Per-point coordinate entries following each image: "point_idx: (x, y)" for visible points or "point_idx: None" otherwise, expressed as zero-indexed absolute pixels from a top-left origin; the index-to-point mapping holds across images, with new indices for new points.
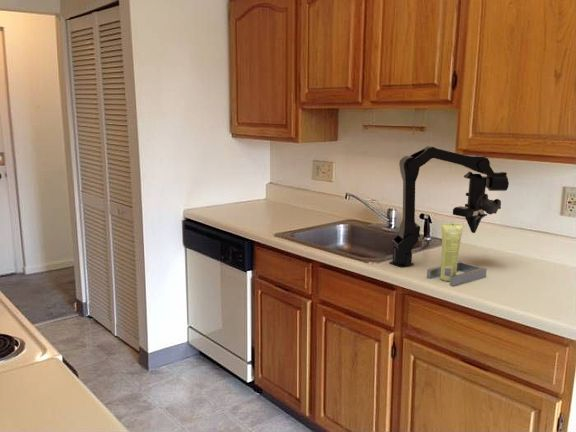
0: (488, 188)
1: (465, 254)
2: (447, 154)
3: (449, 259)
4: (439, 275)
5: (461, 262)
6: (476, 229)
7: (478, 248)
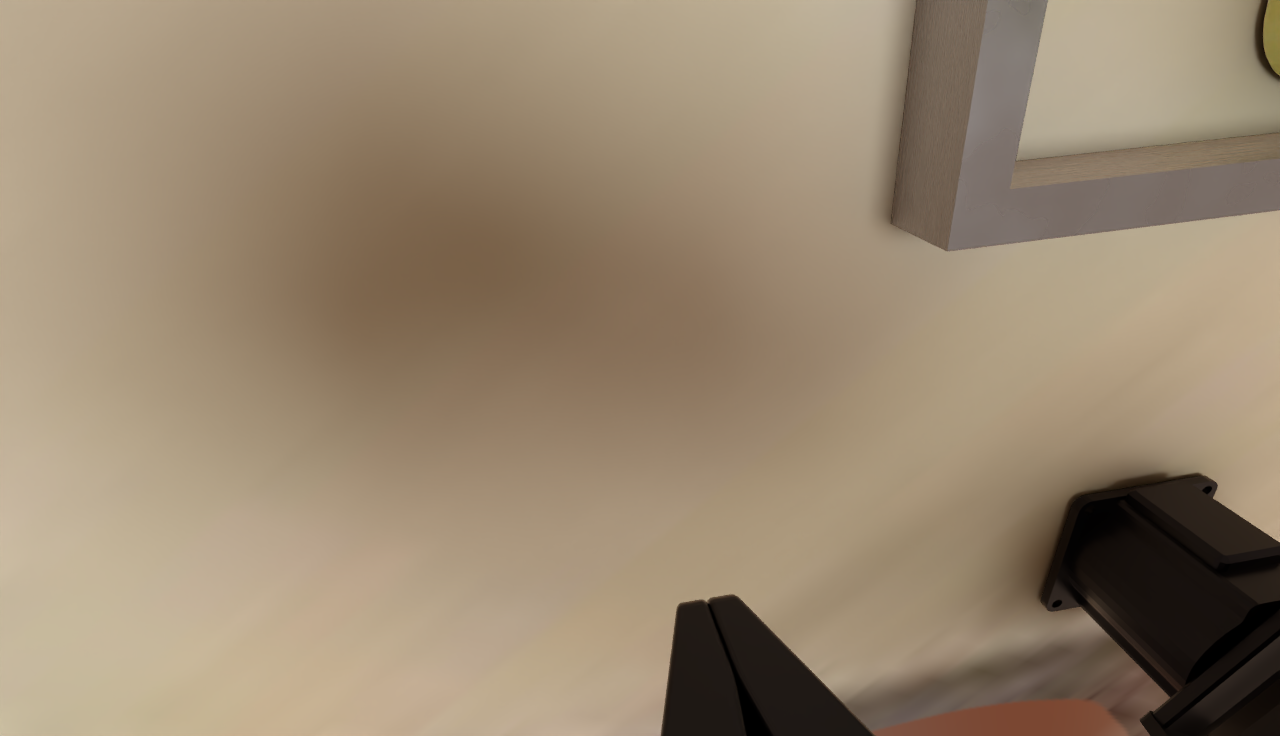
0: None
1: (370, 580)
2: None
3: None
4: (1277, 135)
5: (988, 193)
6: (684, 670)
7: (37, 694)
